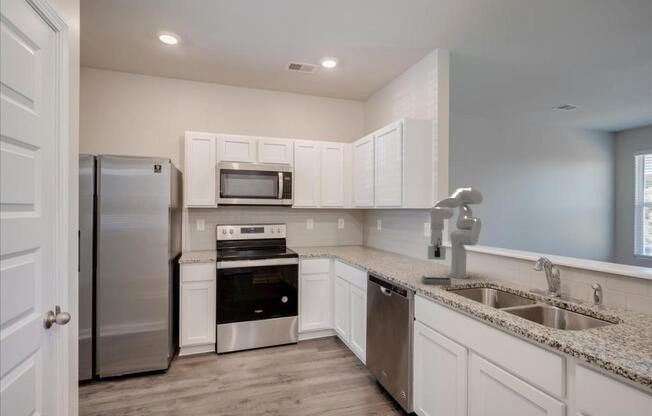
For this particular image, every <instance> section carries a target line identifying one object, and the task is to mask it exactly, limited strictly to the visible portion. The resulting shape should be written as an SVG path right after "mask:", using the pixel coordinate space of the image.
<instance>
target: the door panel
mask: <svg viewBox="0 0 652 416" xmlns="http://www.w3.org/2000/svg"><path fill="white" fill-rule="evenodd" d="M446 249H447V247H446V246H443V245H442V246H441V247H440V257H435V246H433V245H428V246H427V260H435V261H436V260H440V261H445V260H446V251H447V250H446Z"/></svg>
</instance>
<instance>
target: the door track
mask: <svg viewBox="0 0 652 416" xmlns="http://www.w3.org/2000/svg"><path fill="white" fill-rule="evenodd" d="M451 278H452V277H451V276H446V277H435V276H434V277H433V276H432V277H431V276H425V275H422V277H421V282H422V284H423V285H433V286H434V285H435V286H436V285H437V286H439V285H440V286H452V279H451Z"/></svg>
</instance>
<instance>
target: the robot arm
mask: <svg viewBox="0 0 652 416" xmlns="http://www.w3.org/2000/svg"><path fill="white" fill-rule="evenodd" d="M483 197H484V196H483V194H482V193H481V192H480V191H479V190H477V189H476V188H474V187H457V188H455V189H454V190H453V191H452V192H451V193H450V194H449V196H447V197H446V198H443V199H442V200H439V201H437V202H435V203H434V204H433V205H432V206H431V208H430V210H429V215H430V217H431V218H430V230H431V234H430V236H431V237H430V245H431V246H435V257H440V247H441V246H443V231H444V229H445V226H444V225H445V224H444V223H445V220H449V219H452V218H453V216H454V213H455V212H454V210H453V209H456V208H457V207H458V209H459V213H458V216H457V220H456V226H455V227H456V230H453V231H452V232H451V233H450V235H449V236H450V244H451V258H450V259H451V260H450V261H451V265H450V267H451V268H450V272H449V273H448V277H450V278H455V279H468V278H469V275H468V274H467V254H468V253H467V249H466V247H465V246H469V247H470V246H473V247H474V246H476V245H477V243H478V241H479V237H480V233H481V231H482V230H481V229H482V221H481V219H480V218H479V217H475V216H472V215H473V210H472V208H471V207H470V206H469V205H480V204H482V202H483V200H484V198H483ZM457 229H458V230H457Z"/></svg>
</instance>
